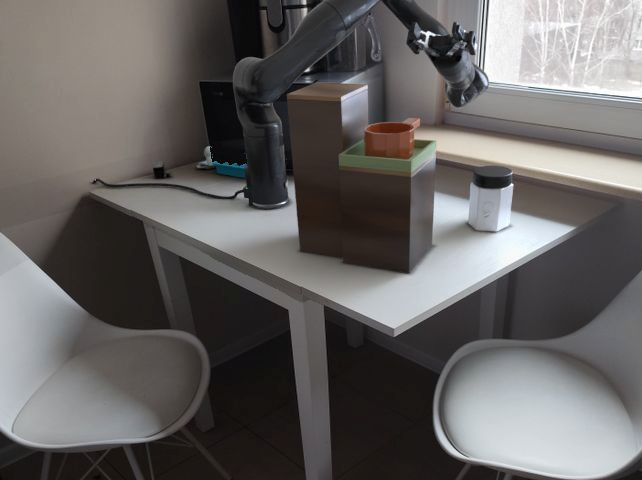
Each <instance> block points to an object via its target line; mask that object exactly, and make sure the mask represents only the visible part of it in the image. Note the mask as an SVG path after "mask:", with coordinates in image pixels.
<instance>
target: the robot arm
mask: <svg viewBox="0 0 642 480" xmlns="http://www.w3.org/2000/svg"><path fill="white" fill-rule="evenodd" d="M379 3H383V5H384V6H386V8H387V9H388V10H389V11H390V12H391V13H392V14H393V15H394V16H395V17H396V18H397V20H399V22H400V23H401V24H402V25H403V26H404V27H405V28H406V30H408V31H407V36H406V42H405V44H406V45H407V46H408V48H409V49H410V50H411V52H412V53H413V54H414V55H420V53H421V52H422V51H423V52H424V53H425V55H426V56H427V57H428V59H429V60H430V62H431V63H432V65H433V66H434V68H435V70H436V71H437V73H438V75H439V76H440V77H441V79H443V80H444V92H445V96H446V99H447V101H448V103H449V104H450V105H451V107H453V108H455V109H463V108H465V107H468V106H469V105H470V104H471V103H472V102H473V101H475V100H476V99H478V98H479V97H480V96H481V95H482V94H484V93H485V92H486V91H487V90H488V88H489V86H490V79H489V76H488V75H487V73H486V72H485V71H484V70H483V69H482V68H481V67H480V66H478V65H477V64H476V63H475V62H473V61H472V60H471V56H476V54H477V49H478V40H477V36H476V32H475V31H474V30H469V31H468V32H466V30H465V29H464V28H463V26H462V25H461V24H459V23H458V21H453V22H452V28H451V33H450V32H449V30H448V29H447V28H446V26H445V25H444V24H443V23H441V22H440V21H439V20H438V19H437V18H435V17H434V16H433V15H431V14H430V13H429V12H427V11H426V10H425V9H423V8H422V6H421V5H419V3H418V2H417V1H416V0H322V1H321V2H320V3H318V4H317V5H316V6H314V8H312V9H311V10H310V11H309V12H307V14H305V15H304V17H303V18H302V19H301V20H300V22H299V24H298V26H297V27H296V29H295V31H294V33H293V34H292V35H291V38H289V40H288V41H286V43H284V44H283V46H281V47H280V48H278V49H277V50H276V51H275V52H273V53H272V54H270V55H267V56H266V57H265V58H259V57H254V56H248V57H244V58H241V60H240V61H238V62H237V63H236V65H235V67H234V70H233V72H232V73H233V74H232V89H233V95H234V101H235V106H236V107H235V108H236V114H237V118H238V121H239V123H240V125H241V128H242V134H243V142H244V150H245V154H246V159H247V166H246V167H245V177H246V178H245V185H244V186H243V187H242V189H239V190H236V191H235V192H234V195H229V196H225V195H224V196H222V195H217V194H212V193H207V192H204V191H200V190H199V189H196V188H194V187H192V186H191V187H190V186H186V185H183V184H175V183H168V182H167V183H166V182H165V183H164V182H142V183H141V182H138V183H137V182H135V183H119V184H116V183H115V184H114V183H113V184H112V183H107V182H106V181H103V180H102V179H100V178H95V179H96V181H95V179H93V181H92V184H96V183H97V182H99V183H100V184H101V185H103V186H105V187H108V188H126V187H127V188H128V187H171V188H177V189H184V190H187V191H190V192H193V193H195V194H198V195H201V196H203V197H207V198H214V199H219V200H233V199H236V198H237V197H238V195H239V194H243V199H247V201H248V207H254V208H256V209H261V210H263V209H264V210H271V209H278V208H282V207H285V206H286V205H288V204H289V202H290V196H289V190H288V186H289V180H288V178H287V168H286V167H287V166H286V164H285V159H286V156H285V145H284V134H283V125H282V119H281V118H280V116H279V115H278V114H277V112H276V110H275V107H274V105H273V104H274V103H273V102H275V101H277V100H278V99H279V98H280V97H281V96H282V95H283V94H284V93H285V92H286V91H287V90H288V89H289V88H290V87H291V85H292V84H294V83H295V81H296V80H298V78H299V77H301V75H302V74H304V73H305V72H306V71H307V70H308V69H310V68H311V67H312V66H313V65H315V64H316V63H317V62H318V61H319V60H321V59H323V57H324V56H326V55H327V54H328V53H330V52H331V51H332V50H333V49H335V48H336V47H337V46H339V45H340V44H341V43H342V42H343V41H345V40H346V38H348V37H349V36H350V35H351V34H352V33H353V32H354V31H355V30H356V29H357V28H358V27H359V25H360V24H361V23H362V22H363V21H364V20H365V19H366V17H367V16H368V15H369V14H370V13H371V12H372V11H373V9H374V8H375V7H377V5H379ZM420 51H421V52H420Z"/></svg>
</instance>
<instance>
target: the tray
mask: <svg viewBox="0 0 642 480" xmlns="http://www.w3.org/2000/svg"><path fill="white" fill-rule="evenodd" d="M434 152H436V153H437V140H435V139H434V140H433V139H421V138H420V139H419V138H414V150H413V156H412V157H411V158H410V159H407V160H405V159H393V158H382V157H370V156H365V151H364V139H363V140H361V141H360V142H358V143H356V144H355V145H353V146H352V147H350V148H348V149H347V150H345V151H344V152H342V153H341V154H339V166H349V167H360V168H370V169H381V170H391V171H401V172H412V171H413V170H415V169H416V168H417V167H418V166H419V165H420V164H422V163H423V162H424V161H425V160H426V159H427V158H429V157H430V156H431V155H432V154H433V153H434Z"/></svg>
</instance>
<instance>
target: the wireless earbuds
mask: <svg viewBox="0 0 642 480" xmlns="http://www.w3.org/2000/svg"><path fill="white" fill-rule="evenodd" d="M152 171H153V175H154V178H155V179H164V178H171V177H172V175H171V172H170V171H167V172H166V170H165V165H164V160H159V161H153V162H152Z"/></svg>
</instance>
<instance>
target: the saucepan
mask: <svg viewBox="0 0 642 480" xmlns="http://www.w3.org/2000/svg"><path fill="white" fill-rule="evenodd" d="M420 126H421V118H417V117H408V118H406V119H405V120H403V121H402V122H400V121H399V122H397V121H386V122H385V121H384V122H376V123H372V124H368V126H366V127H365V128H364V151H365V156H370V157H382V158H393V159H405V160H407V159H410V158H411V157H412V156H413V150H414V139H415V130H416V129H417V128H419V127H420Z"/></svg>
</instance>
